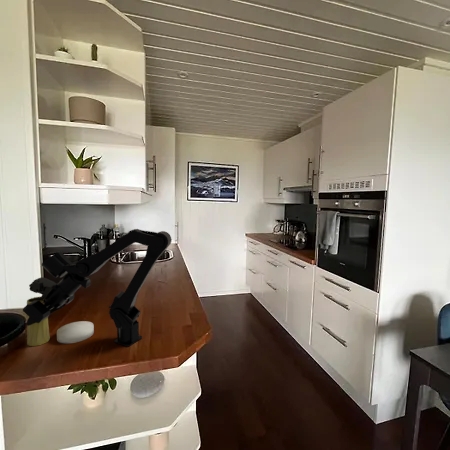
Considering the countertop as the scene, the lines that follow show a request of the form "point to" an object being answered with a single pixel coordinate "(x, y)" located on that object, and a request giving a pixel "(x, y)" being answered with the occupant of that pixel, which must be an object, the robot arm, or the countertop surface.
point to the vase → (37, 329)
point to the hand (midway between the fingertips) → (33, 320)
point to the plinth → (75, 332)
